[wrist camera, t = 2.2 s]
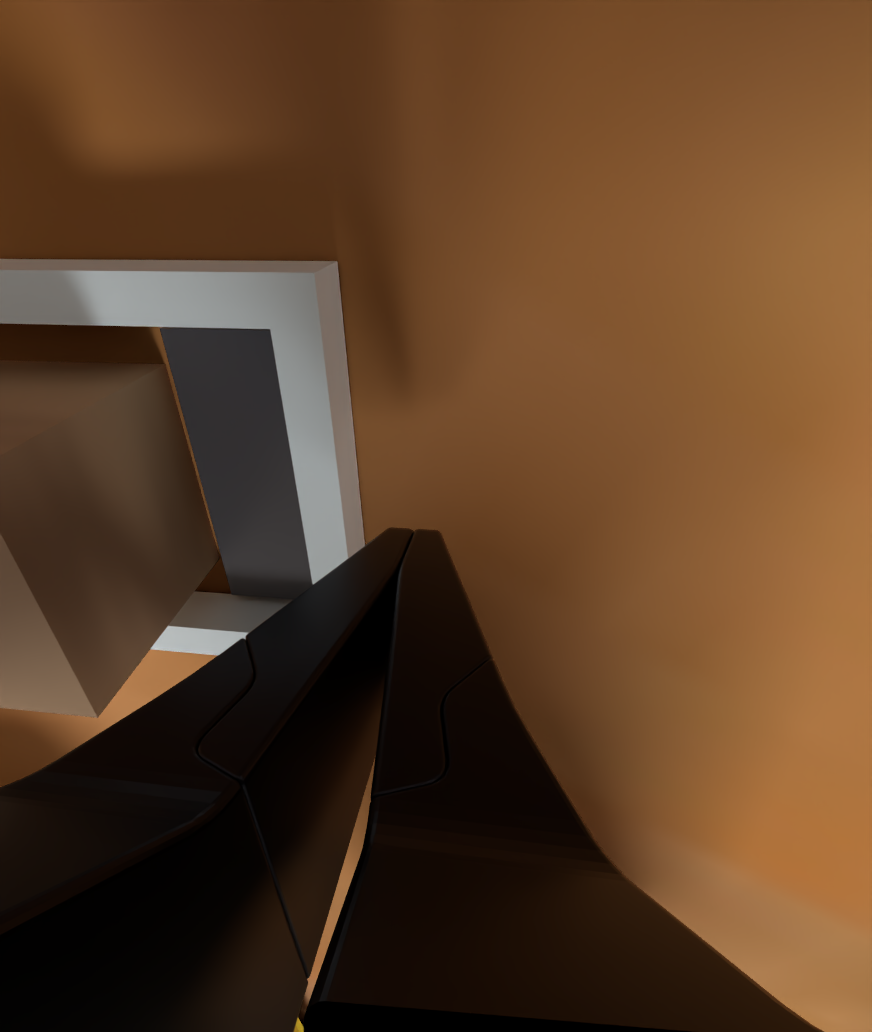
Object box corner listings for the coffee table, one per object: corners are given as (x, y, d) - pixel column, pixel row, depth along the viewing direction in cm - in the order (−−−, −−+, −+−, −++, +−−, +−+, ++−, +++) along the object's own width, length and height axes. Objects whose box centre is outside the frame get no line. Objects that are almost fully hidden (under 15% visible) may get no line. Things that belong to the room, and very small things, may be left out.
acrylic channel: (373, 630, 13) (361, 668, 12) (-138, 587, 15) (-187, 618, 14) (336, 261, 9) (314, 272, 8) (-380, 256, 10) (-476, 265, 9)
